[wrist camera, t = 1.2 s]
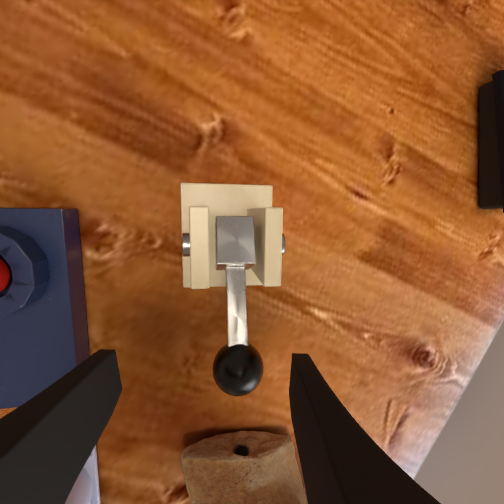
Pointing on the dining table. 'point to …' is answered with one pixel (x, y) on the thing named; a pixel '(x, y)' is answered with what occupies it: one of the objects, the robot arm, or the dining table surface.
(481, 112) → the magazine
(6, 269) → the red push button
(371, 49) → the dining table surface
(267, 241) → the switch box
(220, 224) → the toggle
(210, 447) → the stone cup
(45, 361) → the push button base
